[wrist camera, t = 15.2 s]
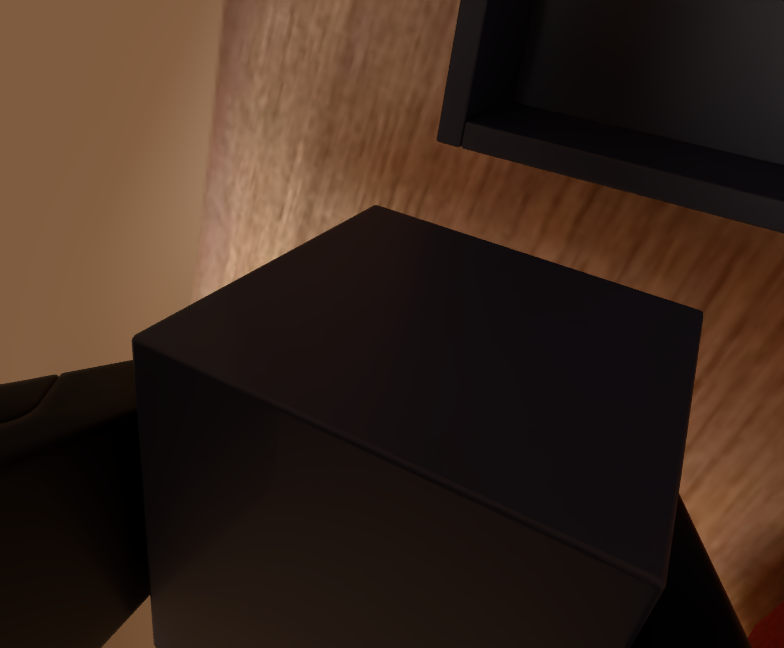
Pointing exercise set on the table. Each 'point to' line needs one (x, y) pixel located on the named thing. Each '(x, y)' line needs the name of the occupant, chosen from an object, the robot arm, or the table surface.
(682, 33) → the navy bin
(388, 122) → the table surface
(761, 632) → the apple
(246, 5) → the table surface
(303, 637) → the navy block
